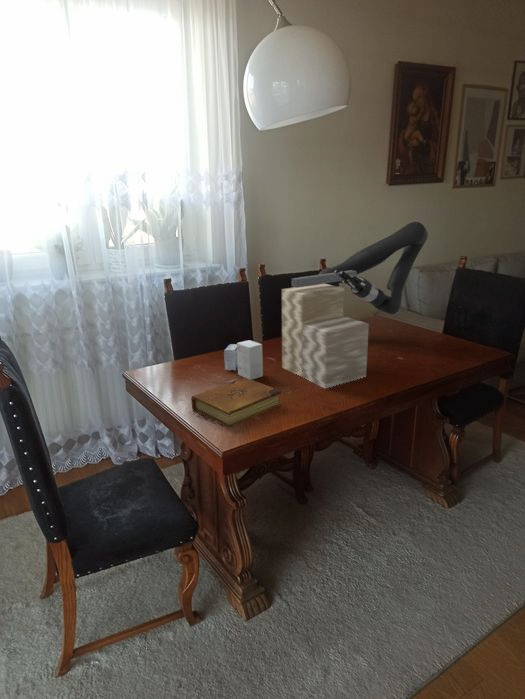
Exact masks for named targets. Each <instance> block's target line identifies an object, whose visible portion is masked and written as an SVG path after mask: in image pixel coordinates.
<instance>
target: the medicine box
mask: <svg viewBox="0 0 525 699" xmlns="http://www.w3.org/2000/svg"><path fill="white" fill-rule="evenodd" d="M223 351H224V352H223V356H224V369H225V371H231V370H234V372H236V370H238V358H237V343H236V344H235V343H234V344H233V343H231V344H228V345H227V347H226V348H225V349H224V350H223Z"/></svg>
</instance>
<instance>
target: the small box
mask: <svg viewBox="0 0 525 699" xmlns="http://www.w3.org/2000/svg"><path fill="white" fill-rule="evenodd" d="M236 344H237V358H238V368H237V375H238V376H240V377H242V378H244V377H245V378H248V379H251V380H255V379H258V378H261V377H263V376H264V368H263V366H264V364H263V363H264V362H263V361H264V360H263V358H264V357H263V344H262V343H260V342H257V341H254V340H250V339H249V340H244V341H239V342H237V343H236Z"/></svg>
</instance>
